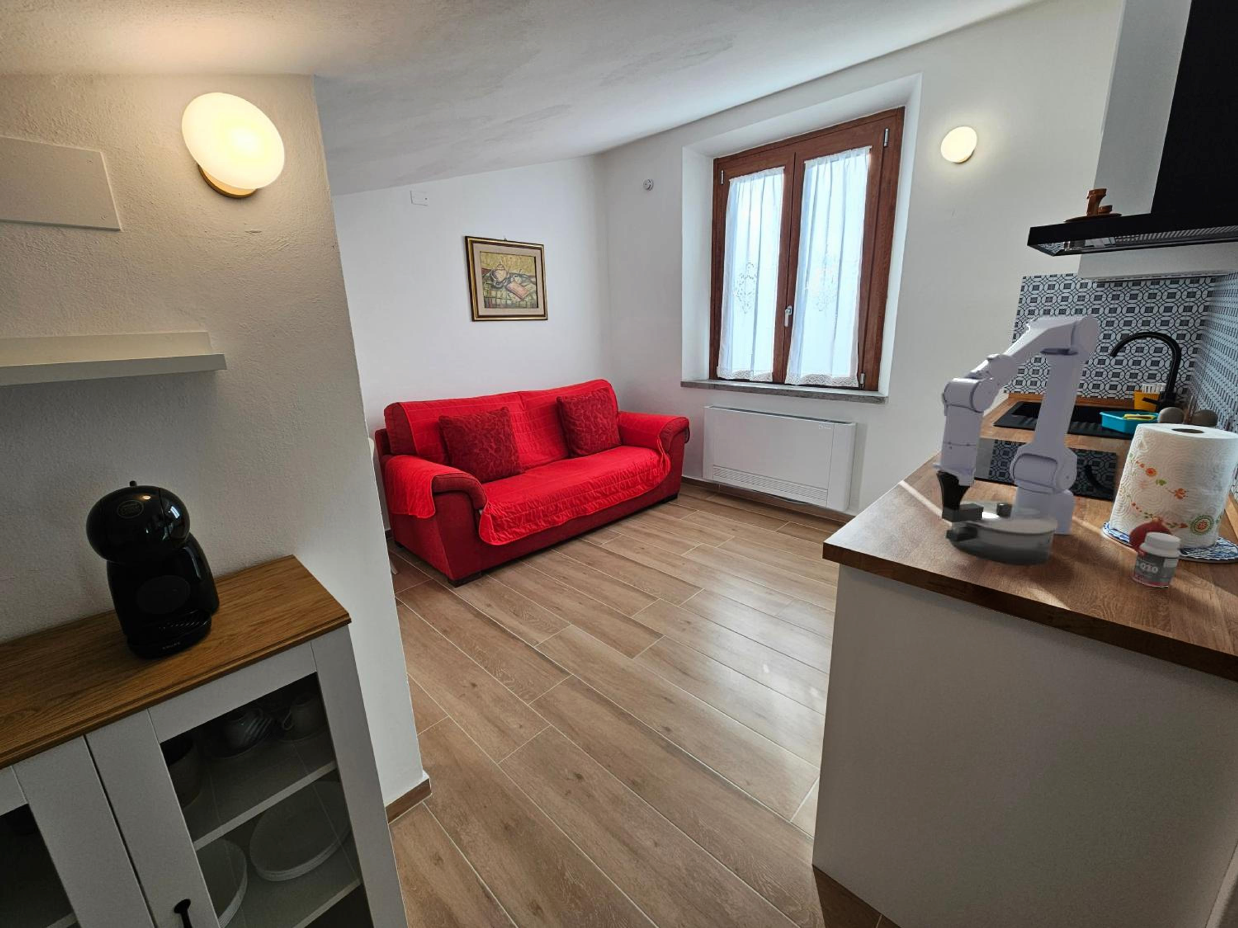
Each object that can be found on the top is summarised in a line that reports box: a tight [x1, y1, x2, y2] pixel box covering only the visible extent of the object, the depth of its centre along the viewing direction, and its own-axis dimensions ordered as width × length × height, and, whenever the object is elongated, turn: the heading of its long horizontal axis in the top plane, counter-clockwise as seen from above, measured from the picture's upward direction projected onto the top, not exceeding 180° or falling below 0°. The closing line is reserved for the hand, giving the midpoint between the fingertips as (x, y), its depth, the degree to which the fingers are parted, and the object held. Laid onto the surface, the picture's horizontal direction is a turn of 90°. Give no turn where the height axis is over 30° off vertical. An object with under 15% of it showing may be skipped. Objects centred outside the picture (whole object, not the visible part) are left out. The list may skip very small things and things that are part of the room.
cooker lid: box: [941, 499, 1058, 535], centre depth 101 cm, size 21×17×3 cm
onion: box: [1128, 517, 1174, 554], centre depth 96 cm, size 6×6×8 cm
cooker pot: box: [945, 521, 1055, 566], centre depth 102 cm, size 21×16×6 cm
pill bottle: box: [1131, 532, 1182, 588], centre depth 87 cm, size 5×5×8 cm
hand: (949, 510), depth 102 cm, fingers closed
